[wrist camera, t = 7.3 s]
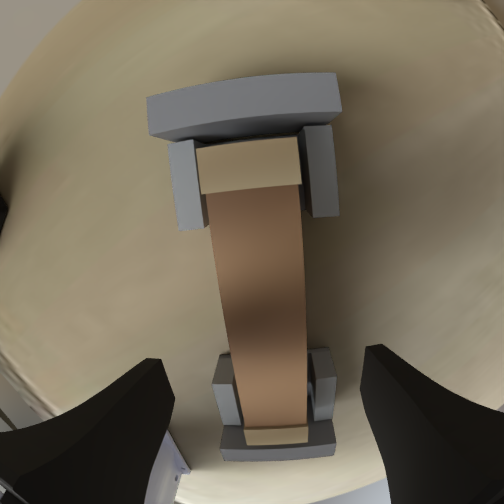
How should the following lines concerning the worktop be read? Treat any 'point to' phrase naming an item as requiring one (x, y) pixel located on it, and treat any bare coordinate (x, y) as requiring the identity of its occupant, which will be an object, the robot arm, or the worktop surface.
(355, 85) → the worktop surface
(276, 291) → the rail
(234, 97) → the post slots
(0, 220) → the battery
